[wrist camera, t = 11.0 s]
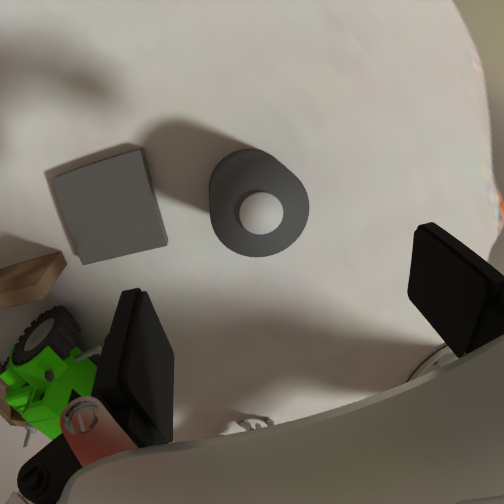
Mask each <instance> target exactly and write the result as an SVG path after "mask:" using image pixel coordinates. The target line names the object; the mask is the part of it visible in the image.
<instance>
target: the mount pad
mask: <svg viewBox="0 0 504 504" xmlns="http://www.w3.org/2000/svg"><path fill="white" fill-rule="evenodd" d="M51 181H52V184H53V188H54V191H55V194H56V197H57V200H58V203H59V205H60V208H61V211H62V214H63V217H64V219H65V222H66V225H67V228H68V230H69V233H70V235H71V238H72V240H73V243H74V245H75V248H76V250H77V253H78V255H79V257H80V260H81V262H82V264H83V265H87V264H91V263H95V262H99V261H103V260H107V259H112V258H116V257H120V256H124V255H129V254H133V253H137V252H141V251H146V250H150V249H154V248H159V247H163V246H167V243H168V237H167V234H166V230H165V227H164V224H163V220H162V217H161V213H160V210H159V206H158V203H157V199H156V196H155V192H154V189H153V185H152V181H151V177H150V174H149V170H148V166H147V162H146V158H145V154H144V150H143V148H140V149H136V150H133V151H129V152H126V153H123V154H119V155H116V156H113V157H110V158H106V159H103V160H100V161H97V162H94V163H91V164H88V165H85V166H82V167H80V168H77V169H74V170H71V171H68V172H66V173H63V174H60V175H58V176H56V177H54V178H52V179H51Z"/></svg>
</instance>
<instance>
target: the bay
mask: <svg viewBox="0 0 504 504" xmlns="http://www.w3.org/2000/svg"><path fill="white" fill-rule="evenodd" d="M66 265H67V263H66V261H65V258H64V256H63V254H62V251H61V252H57V253H53V254H50V255H46V256H43V257H39V258H36V259H33V260H29V261H26V262H22V263H19V264H16V265H12V266H9V267H6V268H3V269H0V309H1V308H6V307H11V306H15V305H20V304H25V303H30V302H35V301H40V300H44V298H45V297H46V295H47V294H48V292H49V291H50V289H51V287H52V286H53V284H54V283H55V281H56V280H57V278H58V277H59V275H60V274H61V272H62V271H63V269H64V268H65V266H66ZM1 369H3V368H2V365H1V363H0V374H1ZM6 388H8V389H9V386H8V384H7V383H6V382H4V381H3V380H2V379H1V378H0V415H1V416H2V417H3V418H4V419H5V420H6V421H7V422H8V423H9V424H10V425H14V426H23V427H25V424H26V420H25V419H24V418H23V417H22V415H21V414H20V413H19V412H17V411H16V410H15V409H14V408H12V406H10V405H9V404H8V403H7V402H6V401H5V400H4V399H5V397H6V394H5V389H6Z"/></svg>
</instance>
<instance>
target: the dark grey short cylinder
mask: <svg viewBox="0 0 504 504" xmlns="http://www.w3.org/2000/svg"><path fill="white" fill-rule="evenodd" d="M209 202H210V218H211V224H212V227H213V230H214V232H215V234H216V235H217V237H218V239H219V240H220V241H221V242H222V243H223V244H224V245H225V246H226V247H227V248H229V249H230V250H232V251H234V252H236V253H238V254H241V255H244V256H249V257H265V256H270V255H273V254H276V253H279V252H281V251H283V250H284V249H286V248H287V247H289V246H290V245H291V244H292V243H294V242H295V241H296V240H297V238H298V237H299V236H300V234H301V233H302V231H303V230H304V228H305V226H306V223H307V220H308V216H309V200H308V195H307V192H306V190H305V188H304V186H303V184H302V183H301V181H300V180H299V179H298V178H297V177H296V176H295V175H294V174H293V173H292V172H291V171H290V170H289V169H287V168H286V167H285V166H284V165H283V164H282V163H280V162H279V161H278V160H277V159H276V158H274V157H273V156H272V155H270V154H268V153H266V152H264V151H261V150H256V149H244V150H239V151H236V152H233V153H231V154H229V155H228V156H226V157H225V158H224V159H222V160H221V161H220V162H219V163H218V165H217V166H216V167H215V169H214V171H213V173H212V175H211V178H210V182H209Z"/></svg>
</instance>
